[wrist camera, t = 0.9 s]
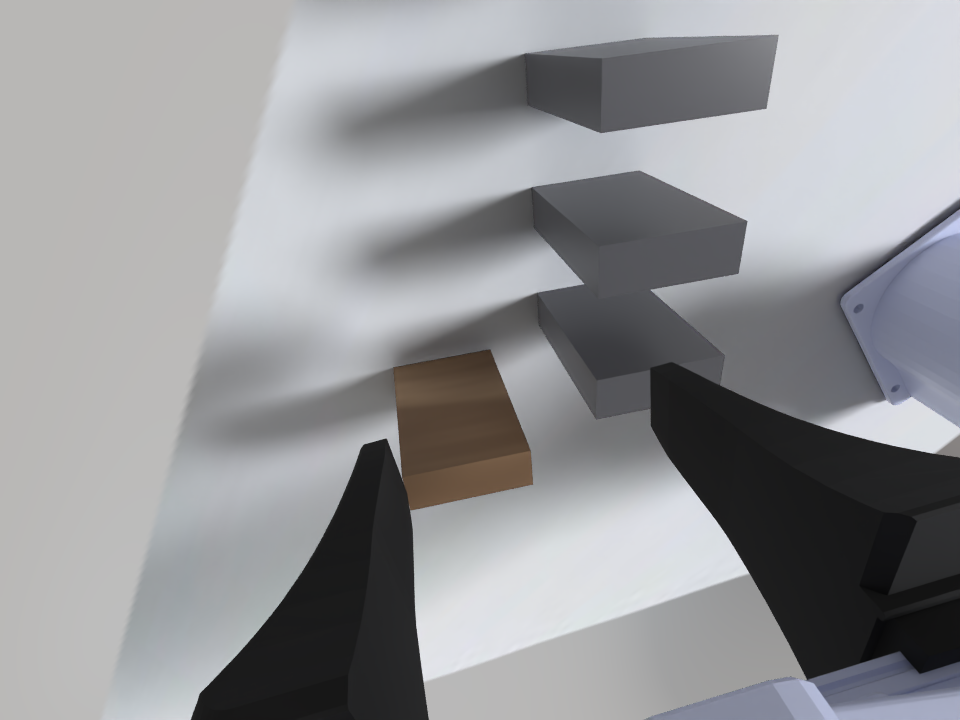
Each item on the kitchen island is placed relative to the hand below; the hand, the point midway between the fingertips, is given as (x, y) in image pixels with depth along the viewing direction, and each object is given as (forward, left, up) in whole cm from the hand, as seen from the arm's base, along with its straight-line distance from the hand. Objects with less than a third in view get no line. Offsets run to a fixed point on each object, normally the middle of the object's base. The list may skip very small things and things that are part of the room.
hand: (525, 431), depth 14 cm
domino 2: (+3, -9, -10) cm, 13 cm away
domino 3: (-1, -6, -10) cm, 11 cm away
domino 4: (-4, -3, -10) cm, 11 cm away
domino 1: (-2, +3, -10) cm, 10 cm away
